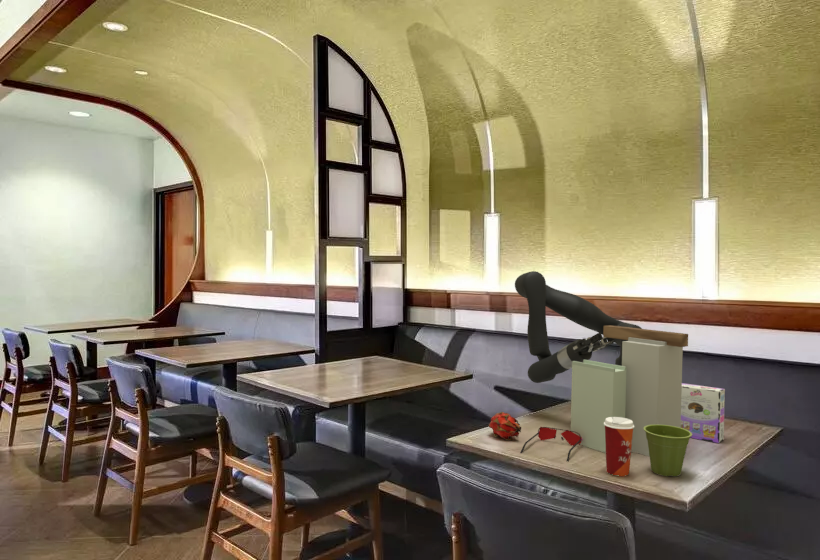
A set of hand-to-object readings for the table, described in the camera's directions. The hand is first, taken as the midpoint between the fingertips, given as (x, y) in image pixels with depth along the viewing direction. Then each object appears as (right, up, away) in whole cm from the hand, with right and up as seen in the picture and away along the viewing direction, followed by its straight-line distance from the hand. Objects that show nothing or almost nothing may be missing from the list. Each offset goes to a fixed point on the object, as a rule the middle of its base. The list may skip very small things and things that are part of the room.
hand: (609, 334), depth 187 cm
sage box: (-7, -33, -9) cm, 35 cm away
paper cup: (-8, -34, -31) cm, 47 cm away
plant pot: (+5, -34, -31) cm, 46 cm away
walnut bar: (+7, -1, -10) cm, 12 cm away
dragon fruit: (-33, -33, -1) cm, 47 cm away
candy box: (+29, -33, +2) cm, 44 cm away
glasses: (-21, -33, -12) cm, 42 cm away
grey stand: (+8, -33, -11) cm, 36 cm away
